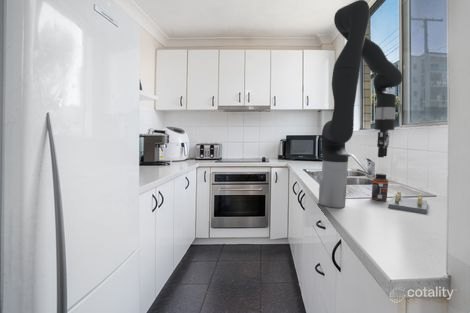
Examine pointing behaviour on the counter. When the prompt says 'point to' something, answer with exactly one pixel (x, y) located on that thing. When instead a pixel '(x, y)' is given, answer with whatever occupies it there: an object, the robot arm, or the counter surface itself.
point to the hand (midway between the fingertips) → (382, 156)
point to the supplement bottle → (380, 187)
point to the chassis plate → (408, 203)
